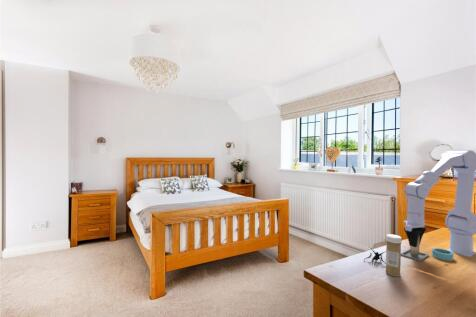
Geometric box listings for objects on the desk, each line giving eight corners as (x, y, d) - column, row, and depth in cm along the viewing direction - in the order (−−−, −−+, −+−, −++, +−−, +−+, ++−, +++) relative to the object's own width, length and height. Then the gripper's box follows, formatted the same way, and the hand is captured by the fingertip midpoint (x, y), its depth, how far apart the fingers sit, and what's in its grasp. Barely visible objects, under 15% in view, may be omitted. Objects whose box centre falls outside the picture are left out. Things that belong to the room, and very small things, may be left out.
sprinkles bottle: (403, 274, 86) (404, 236, 86) (396, 278, 84) (397, 238, 84) (389, 269, 90) (390, 232, 90) (382, 272, 88) (383, 235, 87)
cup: (435, 253, 105) (435, 246, 105) (455, 259, 100) (455, 252, 100) (429, 257, 101) (429, 250, 101) (449, 263, 96) (450, 255, 96)
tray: (409, 251, 107) (409, 249, 107) (428, 257, 101) (428, 254, 101) (399, 256, 102) (400, 253, 102) (420, 262, 96) (420, 259, 96)
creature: (385, 272, 90) (389, 261, 96) (385, 259, 89) (389, 248, 95) (362, 266, 95) (367, 255, 101) (361, 253, 94) (367, 243, 100)
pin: (411, 252, 104) (412, 233, 103) (420, 254, 101) (420, 235, 101) (408, 253, 102) (409, 234, 102) (417, 256, 99) (418, 236, 99)
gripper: (411, 208, 109) (410, 239, 109) (396, 212, 100) (395, 246, 101) (431, 211, 103) (430, 244, 103) (417, 216, 94) (416, 251, 95)
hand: (414, 245), depth 101 cm, fingers closed on pin, 3 cm apart
